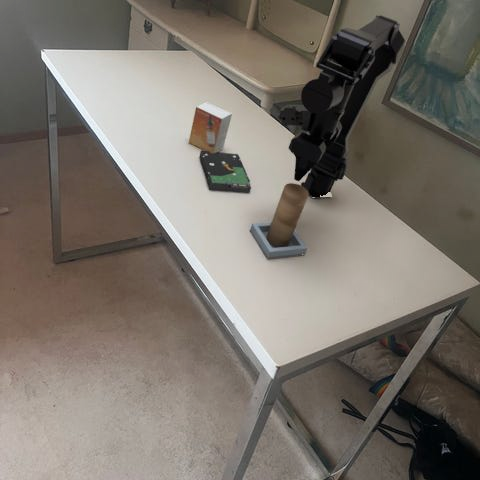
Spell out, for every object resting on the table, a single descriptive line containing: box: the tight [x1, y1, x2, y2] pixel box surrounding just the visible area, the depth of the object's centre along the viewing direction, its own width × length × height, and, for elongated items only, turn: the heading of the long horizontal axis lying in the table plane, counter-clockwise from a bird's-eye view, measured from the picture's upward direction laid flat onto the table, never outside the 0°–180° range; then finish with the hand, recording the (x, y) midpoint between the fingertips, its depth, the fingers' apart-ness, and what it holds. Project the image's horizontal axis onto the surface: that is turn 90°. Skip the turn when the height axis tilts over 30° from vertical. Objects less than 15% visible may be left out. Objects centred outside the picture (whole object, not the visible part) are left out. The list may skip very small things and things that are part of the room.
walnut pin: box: [266, 182, 310, 248], centre depth 93 cm, size 5×5×13 cm
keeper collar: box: [249, 221, 308, 260], centre depth 97 cm, size 9×9×2 cm
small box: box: [188, 101, 233, 154], centre depth 120 cm, size 8×6×10 cm
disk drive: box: [198, 149, 252, 194], centre depth 113 cm, size 10×3×15 cm
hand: (302, 172), depth 97 cm, fingers open, 9 cm apart
